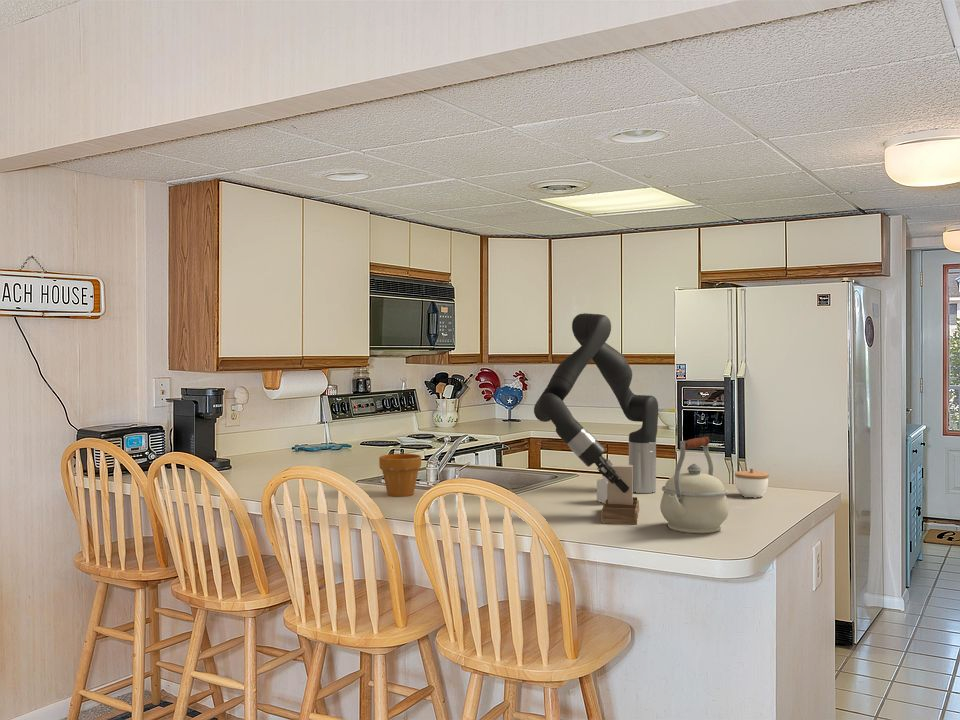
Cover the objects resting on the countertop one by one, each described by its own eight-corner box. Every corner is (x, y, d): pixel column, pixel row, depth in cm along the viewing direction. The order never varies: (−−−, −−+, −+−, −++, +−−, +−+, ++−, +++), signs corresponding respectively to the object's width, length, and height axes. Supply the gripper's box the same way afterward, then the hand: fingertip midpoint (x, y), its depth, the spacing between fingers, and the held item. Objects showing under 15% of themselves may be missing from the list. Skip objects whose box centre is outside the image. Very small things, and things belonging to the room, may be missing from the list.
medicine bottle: (607, 505, 270) (607, 467, 270) (596, 501, 277) (596, 464, 277) (627, 503, 273) (627, 466, 273) (615, 499, 280) (615, 463, 279)
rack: (605, 509, 263) (606, 495, 263) (638, 510, 261) (639, 497, 261) (601, 522, 244) (601, 508, 244) (636, 524, 242) (636, 509, 242)
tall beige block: (608, 504, 255) (609, 464, 255) (632, 505, 254) (632, 465, 253) (607, 506, 251) (608, 466, 251) (632, 507, 250) (632, 467, 250)
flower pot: (374, 497, 284) (373, 458, 284) (386, 490, 298) (386, 453, 298) (415, 498, 282) (415, 459, 282) (425, 491, 296) (425, 454, 296)
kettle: (681, 517, 251) (681, 433, 251) (741, 526, 239) (742, 437, 239) (639, 532, 232) (639, 440, 231) (703, 542, 220) (703, 445, 220)
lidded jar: (735, 498, 282) (735, 470, 282) (734, 493, 292) (734, 465, 292) (769, 499, 279) (769, 471, 279) (767, 494, 290) (767, 466, 290)
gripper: (593, 441, 247) (635, 484, 244) (597, 436, 261) (637, 477, 258) (574, 459, 248) (616, 502, 246) (579, 452, 262) (619, 493, 260)
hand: (627, 489), depth 252 cm, fingers closed on tall beige block, 4 cm apart
